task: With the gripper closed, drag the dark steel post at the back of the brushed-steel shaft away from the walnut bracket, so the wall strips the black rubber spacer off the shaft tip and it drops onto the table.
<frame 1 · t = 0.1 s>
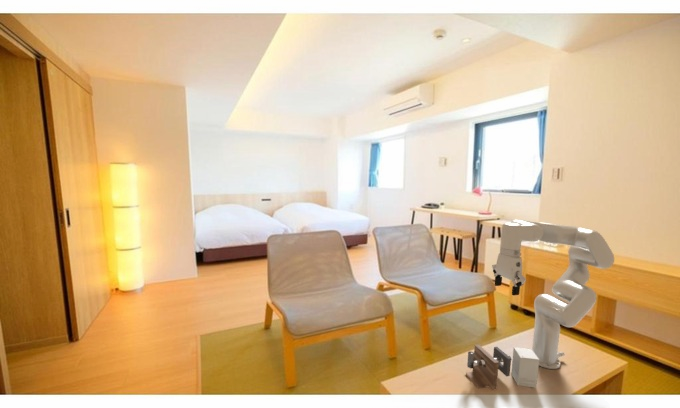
hand: (506, 290, 127), 37 cm above the table, tool pointing down, fingers open, 9 cm apart
bracket: (484, 379, 124), on the table
spacer: (500, 369, 126), point 3 cm above the table, touching shaft
shaft: (489, 357, 123), point 10 cm above the table, slide at 0.0 cm, touching spacer
supplement box: (523, 380, 124), on the table
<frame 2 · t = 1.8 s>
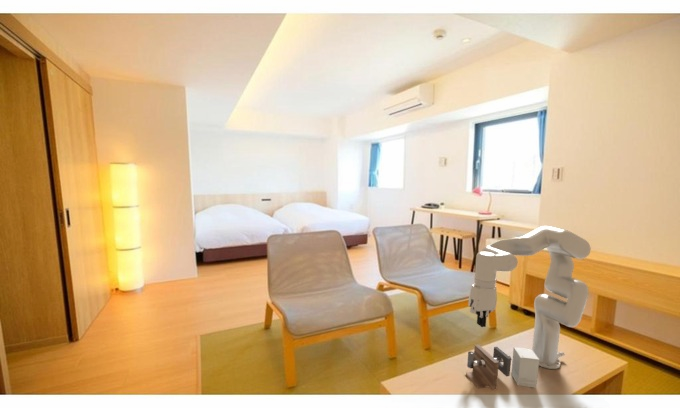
hand: (481, 325, 120), 25 cm above the table, tool pointing down, fingers closed
nothing on the table moved.
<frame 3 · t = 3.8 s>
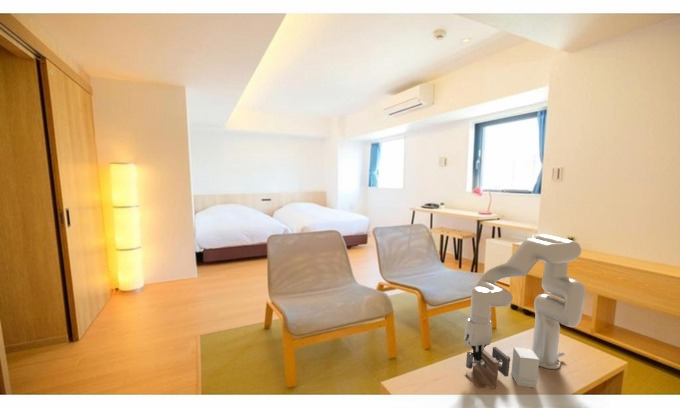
hand: (476, 358, 122), 10 cm above the table, tool pointing down, fingers closed
shaft: (488, 357, 123), point 10 cm above the table, slide at 0.6 cm, touching gripper, spacer
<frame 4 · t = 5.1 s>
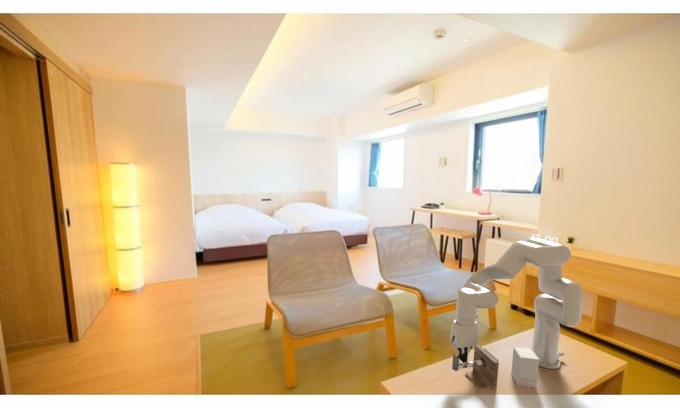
hand: (462, 360, 121), 10 cm above the table, tool pointing down, fingers closed
spacer: (488, 371, 124), point 3 cm above the table, touching bracket, shaft
shaft: (474, 359, 122), point 10 cm above the table, slide at 7.1 cm, touching gripper, spacer
everything else where it was.
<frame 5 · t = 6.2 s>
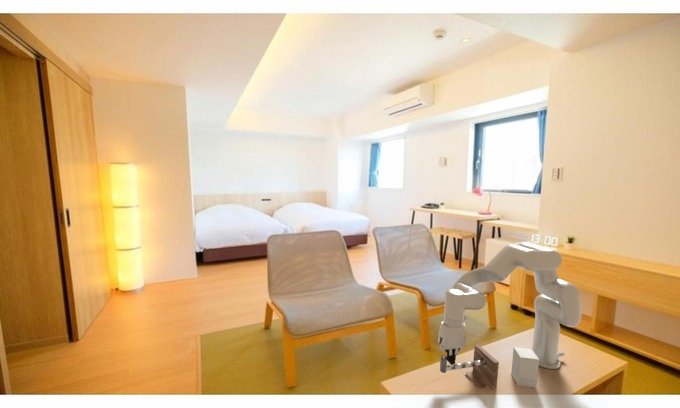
hand: (450, 362, 119), 10 cm above the table, tool pointing down, fingers closed
spacer: (487, 378, 125), on the table
shaft: (463, 361, 121), point 10 cm above the table, slide at 12.7 cm, touching gripper
everything else where it was.
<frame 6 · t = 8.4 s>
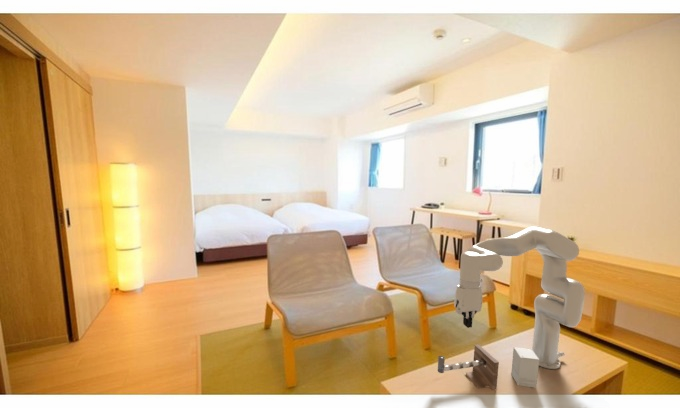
hand: (467, 325, 119), 25 cm above the table, tool pointing down, fingers closed
shaft: (460, 361, 120), point 10 cm above the table, slide at 13.7 cm
everything else where it was.
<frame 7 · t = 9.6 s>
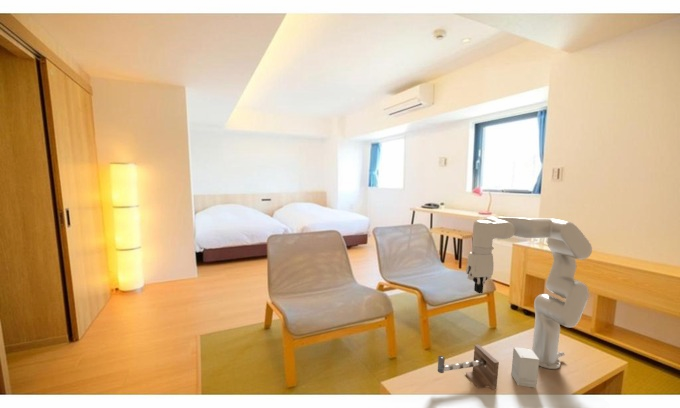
hand: (478, 291, 124), 37 cm above the table, tool pointing down, fingers closed
nothing on the table moved.
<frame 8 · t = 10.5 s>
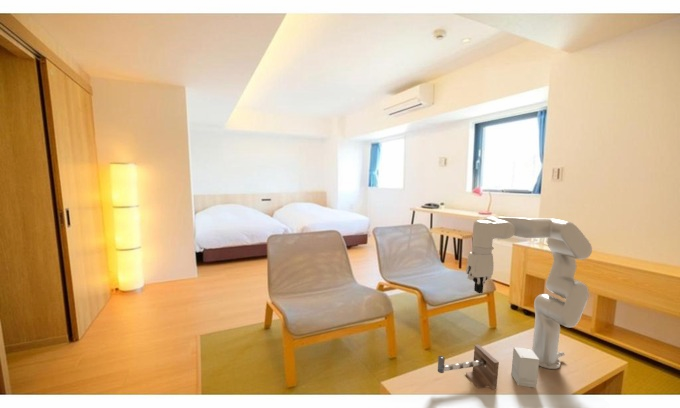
hand: (478, 291, 124), 37 cm above the table, tool pointing down, fingers closed
nothing on the table moved.
at the end: shaft slide at 13.7 cm; spacer on the table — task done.
